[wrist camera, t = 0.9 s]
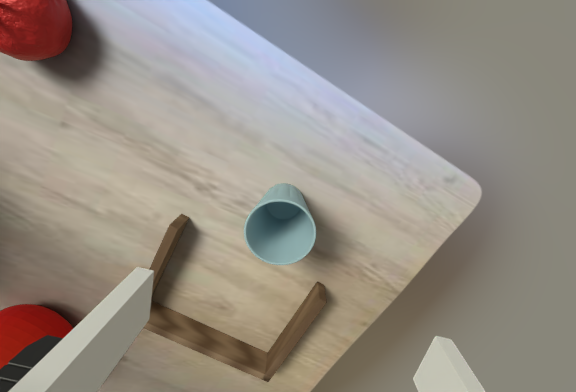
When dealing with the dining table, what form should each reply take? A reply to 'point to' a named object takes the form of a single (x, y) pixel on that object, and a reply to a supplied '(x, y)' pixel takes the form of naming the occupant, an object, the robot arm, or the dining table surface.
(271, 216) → the cup
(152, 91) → the dining table surface
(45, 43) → the pomegranate
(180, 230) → the corral
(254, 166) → the dining table surface
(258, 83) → the dining table surface
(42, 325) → the tomato
